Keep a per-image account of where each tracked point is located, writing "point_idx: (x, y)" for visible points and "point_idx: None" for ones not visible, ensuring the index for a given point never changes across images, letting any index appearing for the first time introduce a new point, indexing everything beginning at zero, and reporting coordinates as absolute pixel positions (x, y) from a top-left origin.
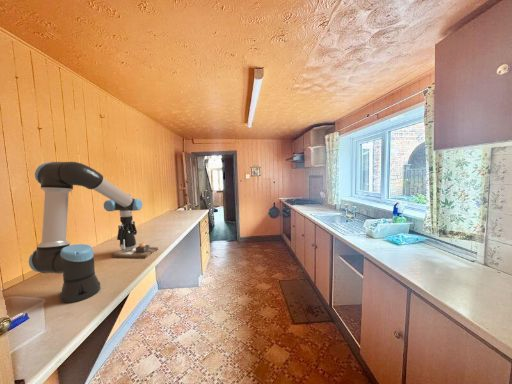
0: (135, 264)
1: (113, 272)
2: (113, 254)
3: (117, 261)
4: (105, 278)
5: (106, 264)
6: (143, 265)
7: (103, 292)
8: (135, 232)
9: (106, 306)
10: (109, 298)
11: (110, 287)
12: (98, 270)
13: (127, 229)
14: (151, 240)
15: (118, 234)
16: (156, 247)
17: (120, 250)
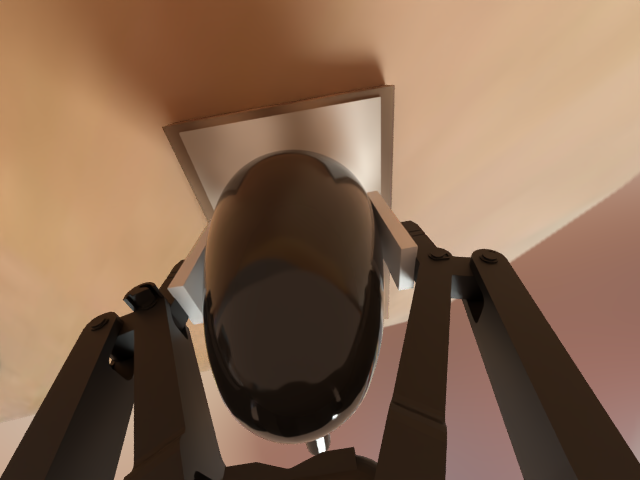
0: (196, 331)
1: (84, 317)
2: (181, 139)
3: (164, 232)
4: (34, 330)
5: (89, 206)
6: (207, 357)
7: (6, 385)
8: (463, 296)
9: (3, 421)
10: (18, 409)
11: (35, 380)
12: (18, 238)
13: (295, 443)
14: (626, 127)
15: (53, 414)
16: (386, 312)
17: (277, 119)
